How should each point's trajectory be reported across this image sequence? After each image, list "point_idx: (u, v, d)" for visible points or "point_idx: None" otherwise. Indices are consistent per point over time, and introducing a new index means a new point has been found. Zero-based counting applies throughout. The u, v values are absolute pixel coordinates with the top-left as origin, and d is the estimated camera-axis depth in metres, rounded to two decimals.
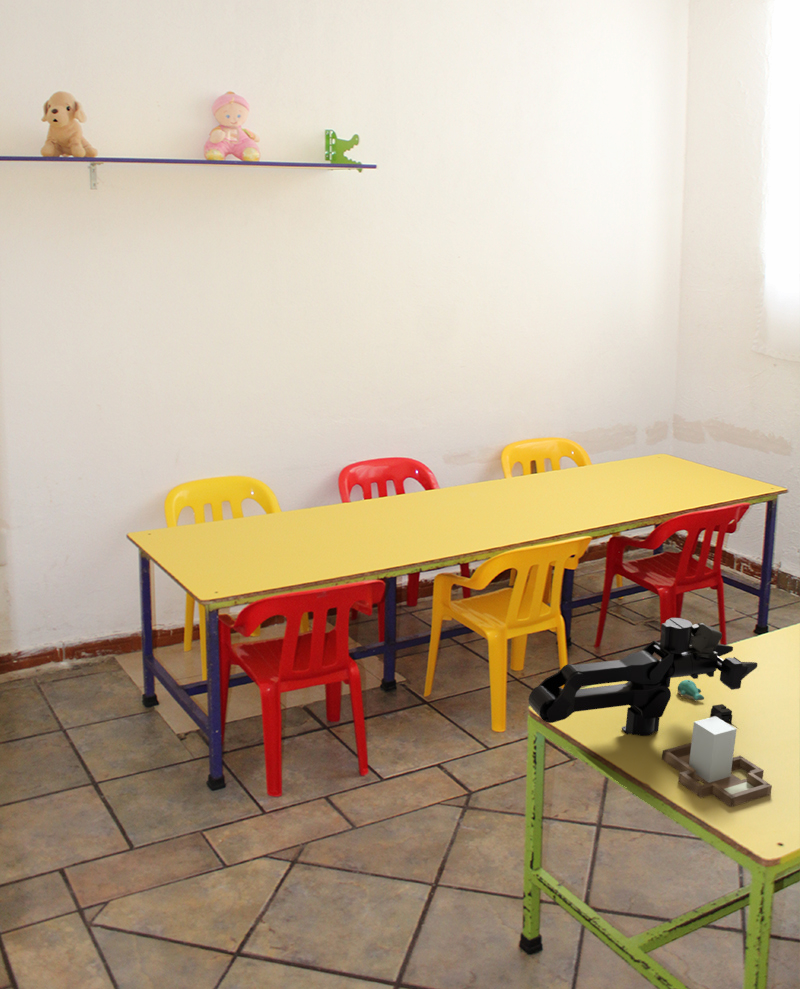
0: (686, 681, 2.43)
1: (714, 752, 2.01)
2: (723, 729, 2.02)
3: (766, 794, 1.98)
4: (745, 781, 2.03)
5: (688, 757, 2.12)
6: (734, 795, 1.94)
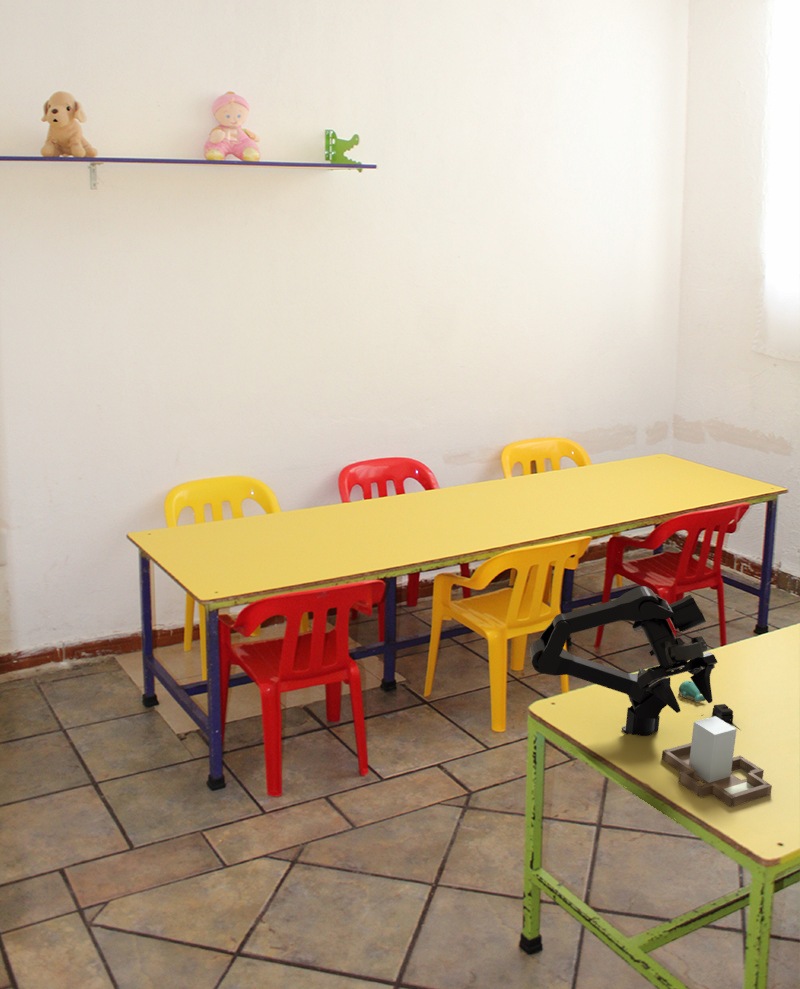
0: (687, 682, 2.43)
1: (714, 752, 2.01)
2: (723, 729, 2.02)
3: (766, 794, 1.98)
4: (745, 781, 2.03)
5: (688, 757, 2.12)
6: (734, 795, 1.94)
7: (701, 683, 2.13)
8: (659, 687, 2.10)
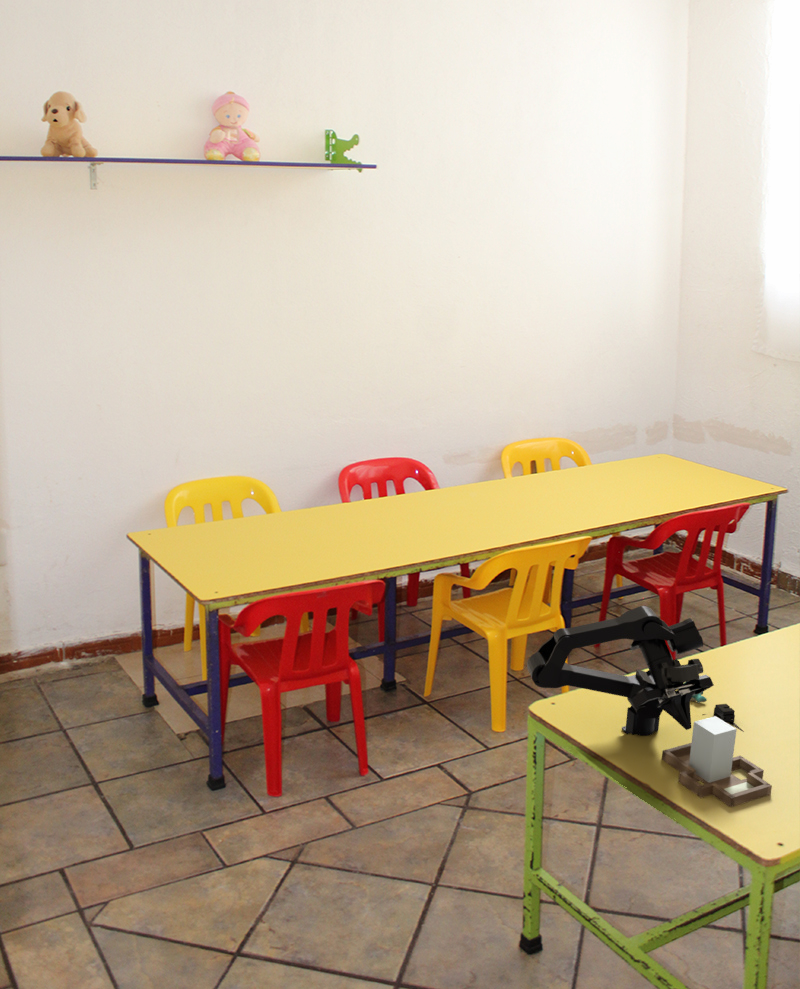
0: None
1: (714, 752, 2.01)
2: (723, 729, 2.02)
3: (766, 794, 1.98)
4: (745, 781, 2.03)
5: (688, 757, 2.12)
6: (734, 795, 1.94)
7: None
8: (670, 703, 2.13)
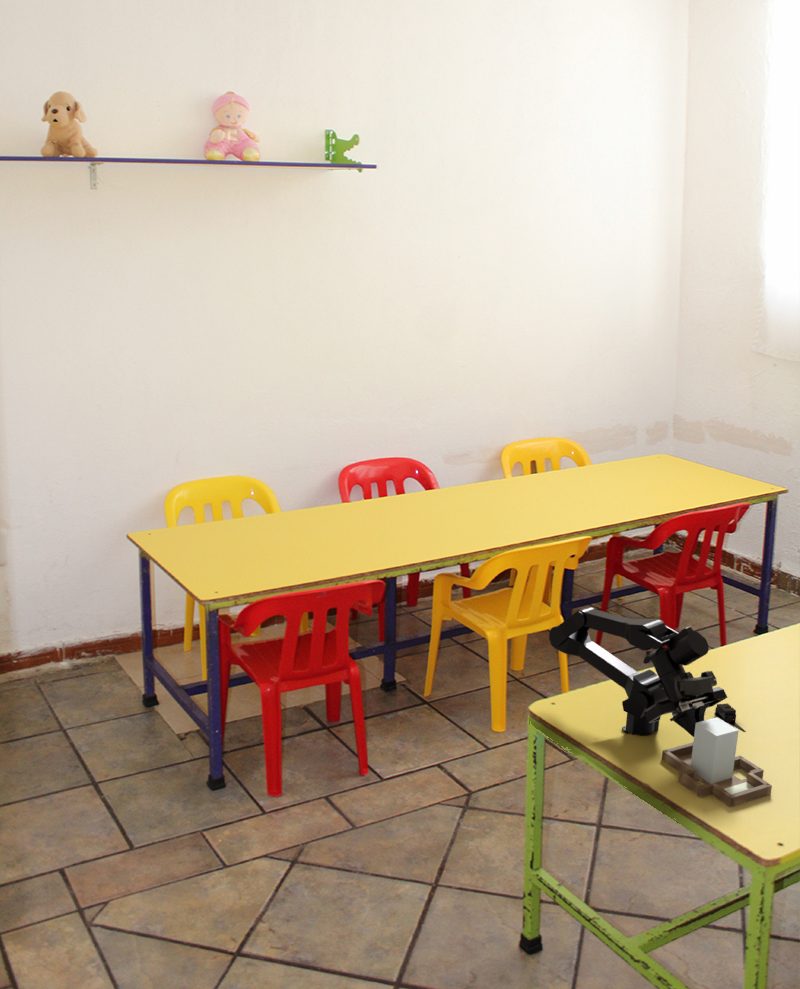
0: None
1: (716, 753, 2.00)
2: (725, 730, 2.01)
3: (766, 794, 1.98)
4: (745, 781, 2.03)
5: (688, 757, 2.12)
6: (734, 795, 1.94)
7: None
8: (683, 717, 2.10)
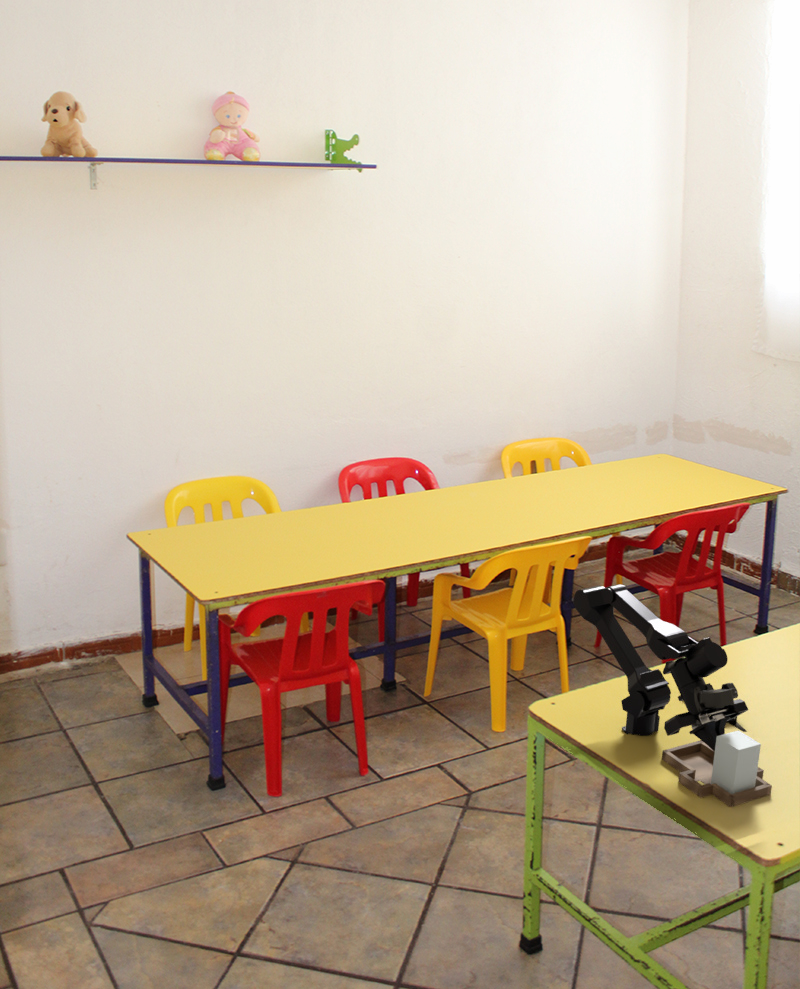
0: None
1: (738, 767, 1.95)
2: (747, 744, 1.96)
3: (766, 794, 1.98)
4: None
5: (688, 757, 2.12)
6: (734, 795, 1.94)
7: None
8: (703, 730, 2.05)
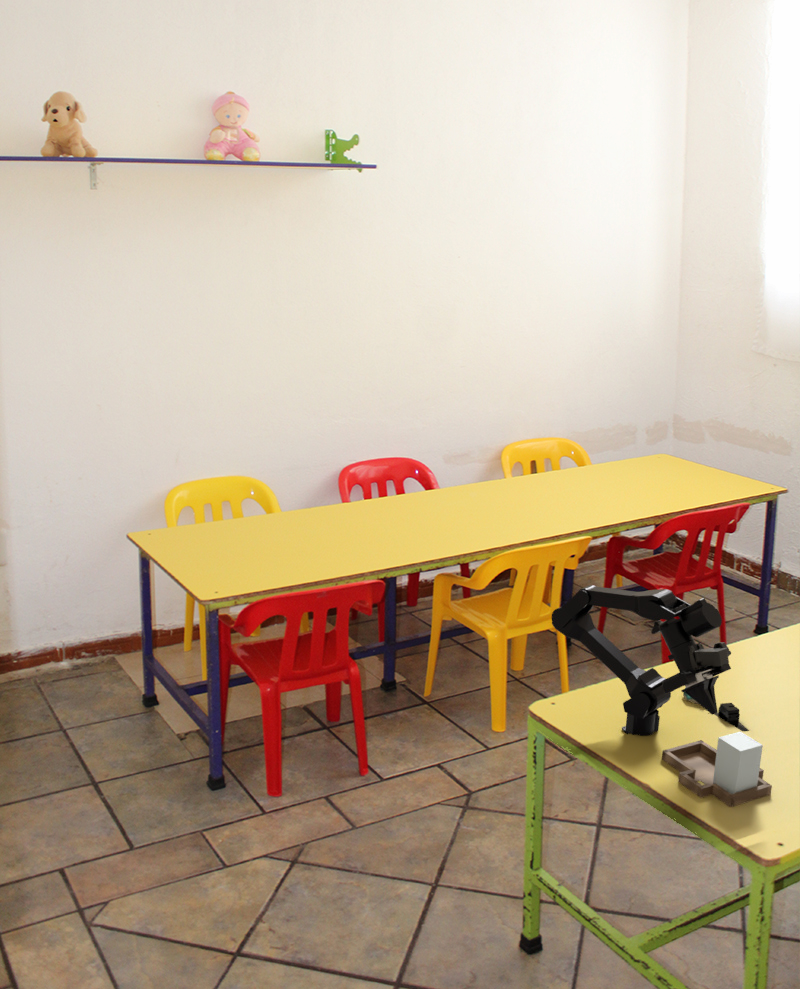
0: None
1: (740, 768, 1.95)
2: (749, 745, 1.96)
3: (766, 794, 1.98)
4: None
5: (688, 757, 2.12)
6: (734, 795, 1.94)
7: None
8: (695, 688, 2.08)
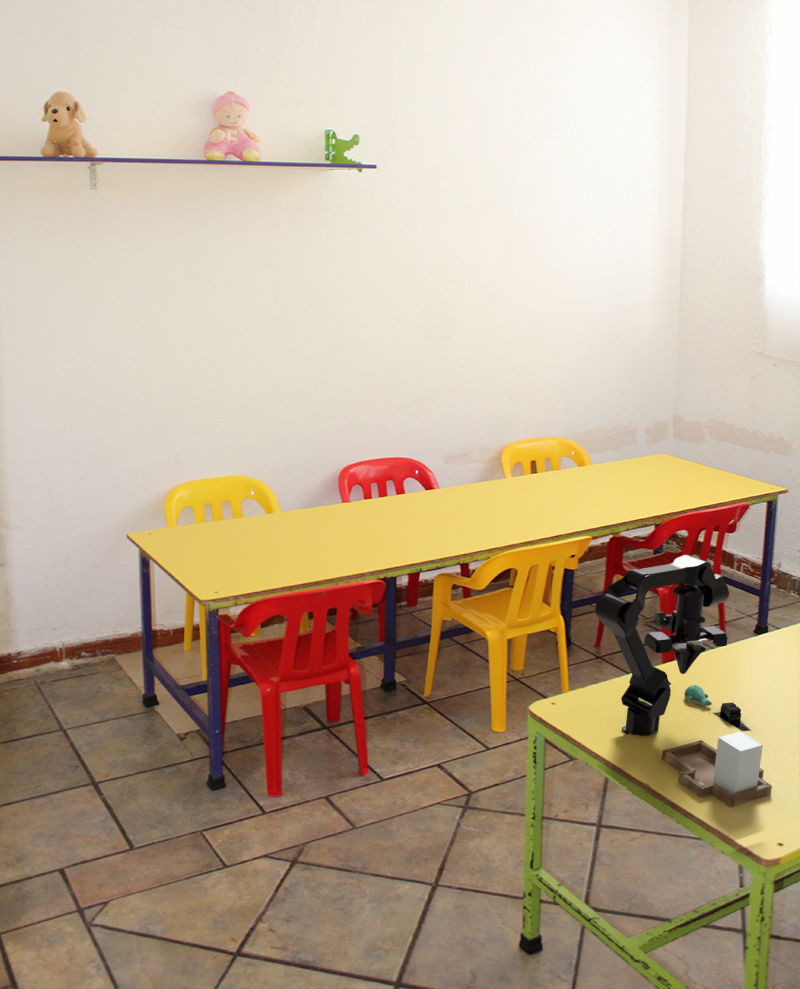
0: (693, 686, 2.40)
1: (740, 768, 1.95)
2: (749, 745, 1.96)
3: (766, 794, 1.98)
4: None
5: (688, 757, 2.12)
6: (734, 795, 1.94)
7: None
8: None
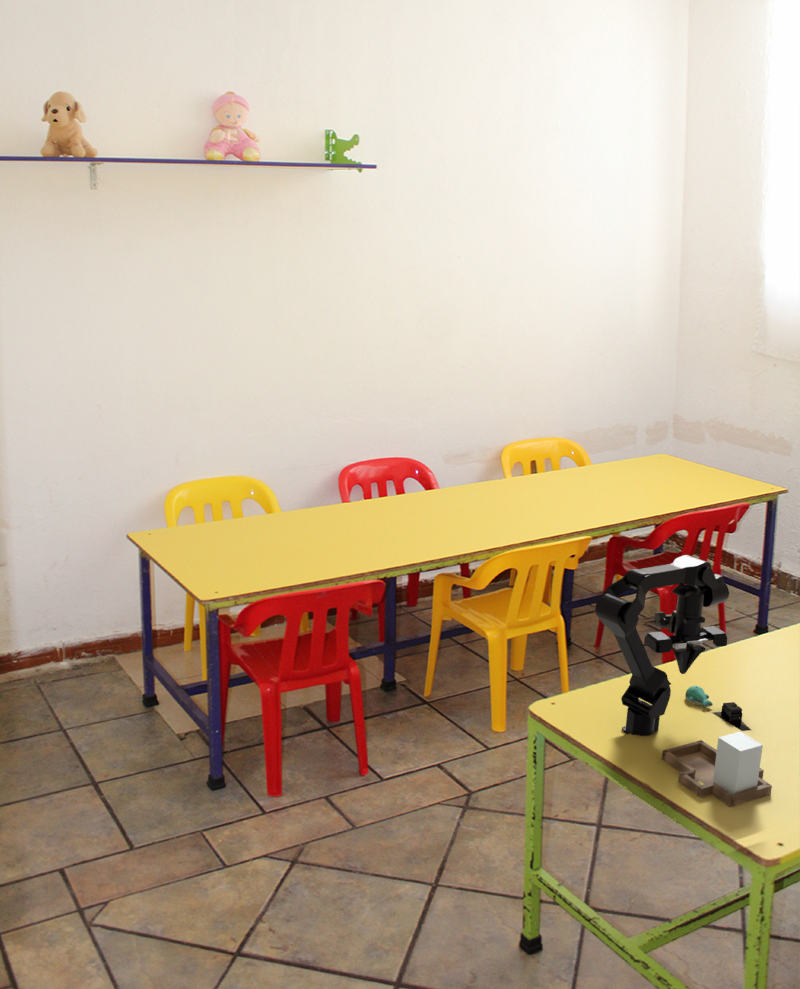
0: (694, 687, 2.40)
1: (740, 768, 1.95)
2: (749, 745, 1.96)
3: (766, 794, 1.98)
4: None
5: (688, 757, 2.12)
6: (734, 795, 1.94)
7: None
8: None
